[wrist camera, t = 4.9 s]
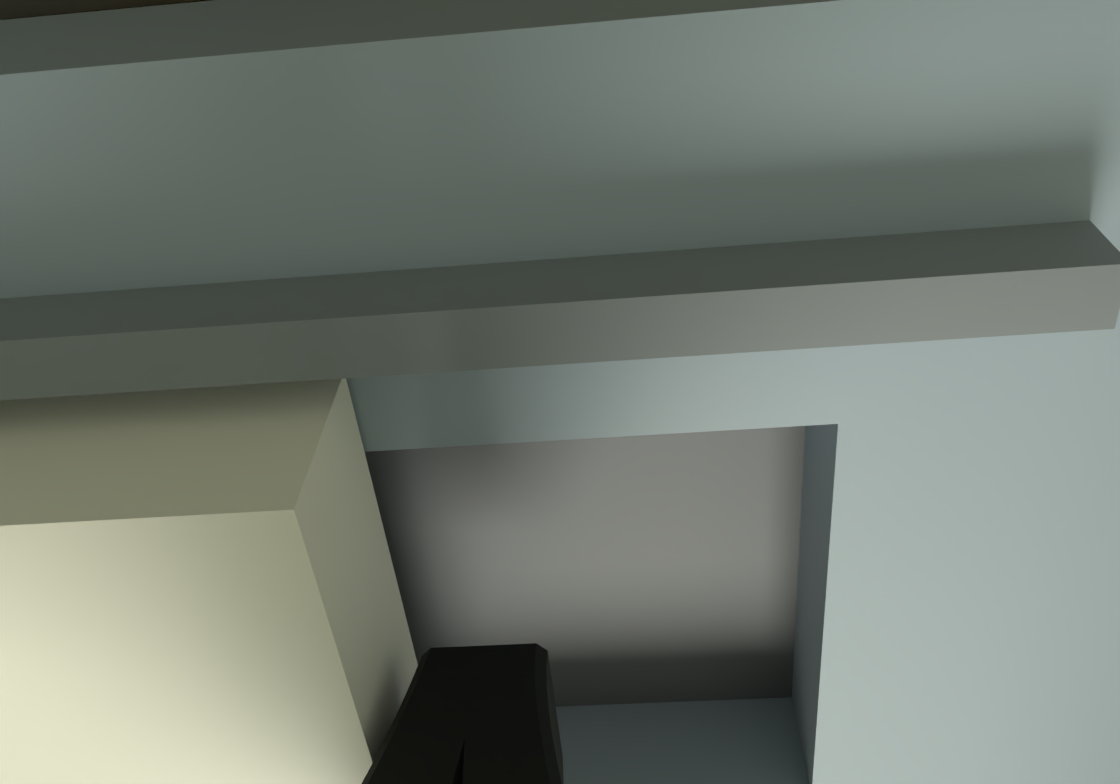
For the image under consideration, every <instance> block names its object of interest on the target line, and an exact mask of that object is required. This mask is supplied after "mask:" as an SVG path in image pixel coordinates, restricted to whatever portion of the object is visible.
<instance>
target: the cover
mask: <svg viewBox="0 0 1120 784" xmlns="http://www.w3.org/2000/svg"><path fill="white" fill-rule="evenodd" d="M417 666H418V664H417V660H416V656H415V652H414V648H413V644H412V640H411V636H410V632H409V628H408V624H407V620H406V616H405V612H404V608H403V604H402V600H401V596H400V592H399V588H398V584H397V580H396V576H395V572H394V568H393V564H392V560H391V556H390V552H389V548H388V544H387V540H386V536H385V532H384V528H383V524H382V520H381V516H380V512H379V508H378V504H377V500H376V496H375V492H374V488H373V484H372V480H371V476H370V472H369V468H368V464H367V460H366V456H365V452H364V448H363V444H362V440H361V436H360V432H359V428H358V424H357V420H356V416H355V412H354V408H353V404H352V400H351V396H350V392H349V388H348V384H347V380H346V378H342V379H327V380H311V381H296V382H280V383H264V384H249V385H233V386H218V387H202V388H187V389H171V390H155V391H140V392H124V393H109V394H93V395H78V396H62V397H47V398H31V399H15V400H0V784H362V782H363V780H364V778H365V776H366V775H367V773H368V771H369V769H370V767H371V765H372V763H373V761H374V759H375V757H376V755H377V753H378V751H379V749H380V747H381V745H382V743H383V741H384V739H385V737H386V735H387V733H388V731H389V729H390V727H391V725H392V723H393V721H394V719H395V716H396V714H397V712H398V710H399V708H400V706H401V704H402V701H403V699H404V697H405V695H406V692H407V690H408V688H409V686H410V683H411V681H412V679H413V676H414V674H415V671H416V669H417Z"/></svg>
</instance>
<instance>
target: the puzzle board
mask: <svg viewBox="0 0 1120 784" xmlns="http://www.w3.org/2000/svg"><path fill="white" fill-rule="evenodd" d="M342 378H346V380H347V384H348V388H349V392H350V396H351V400H352V404H353V408H354V412H355V416H356V420H357V424H358V428H359V432H360V436H361V440H362V444H363V448H364V452H365V456H366V460H367V464H368V468H369V472H370V476H371V480H372V484H373V488H374V492H375V496H376V500H377V504H378V508H379V512H380V516H381V520H382V524H383V528H384V532H385V536H386V540H387V544H388V548H389V552H390V556H391V560H392V564H393V568H394V572H395V576H396V580H397V584H398V588H399V592H400V596H401V600H402V604H403V608H404V612H405V616H406V620H407V624H408V628H409V632H410V636H411V640H412V644H413V648H414V652H415V656H416V660H417V664H419V662H420V659H421V657H422V655H423V654H424V653H425V652H426V651H428V650H429V649H430V648H438V647H461V646H484V645H508V644H531V643H537V644H538V645H540V646H541V647H543V648H544V649H546V650H548V656H549V663H550V670H551V677H552V684H553V691H554V698H555V705H556V712H557V719H558V726H559V733H560V741H561V748H562V755H563V777H564V784H1120V0H212V1H201V2H191V3H180V4H169V5H158V6H147V7H137V8H126V9H115V10H104V11H93V12H83V13H72V14H61V15H50V16H39V17H29V18H18V19H7V20H0V400H15V399H31V398H47V397H62V396H78V395H93V394H109V393H124V392H140V391H155V390H171V389H187V388H202V387H218V386H233V385H249V384H264V383H280V382H296V381H311V380H327V379H342Z"/></svg>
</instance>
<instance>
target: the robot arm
mask: <svg viewBox="0 0 1120 784" xmlns="http://www.w3.org/2000/svg"><path fill="white" fill-rule="evenodd" d="M362 784H564V777H563V755H562V748H561V741H560V733H559V726H558V719H557V712H556V705H555V698H554V691H553V684H552V677H551V670H550V663H549V656H548V650H546V649H544V648H543V647H541V646H540V645H538V644H537V643H531V644H508V645H484V646H461V647H438V648H430V649H429V650H428V651H426V652H425V653H424V654H423V655H422V657H421V659H420V662H419V664H418V666H417V669H416V671H415V674H414V676H413V679H412V681H411V683H410V686H409V688H408V690H407V692H406V695H405V697H404V699H403V701H402V704H401V706H400V708H399V710H398V712H397V714H396V716H395V719H394V721H393V723H392V725H391V727H390V729H389V731H388V733H387V735H386V737H385V739H384V741H383V743H382V745H381V747H380V749H379V751H378V753H377V755H376V757H375V759H374V761H373V763H372V765H371V767H370V769H369V771H368V773H367V775H366V776H365V778H364V780H363V782H362Z"/></svg>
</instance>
